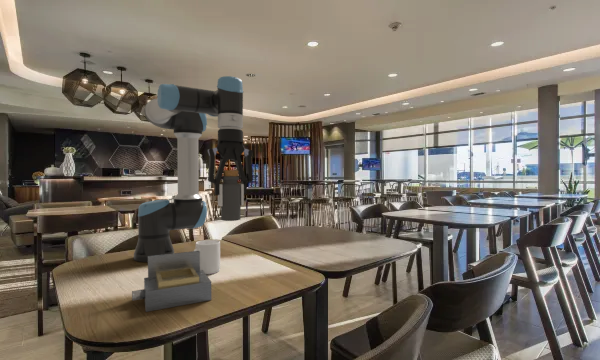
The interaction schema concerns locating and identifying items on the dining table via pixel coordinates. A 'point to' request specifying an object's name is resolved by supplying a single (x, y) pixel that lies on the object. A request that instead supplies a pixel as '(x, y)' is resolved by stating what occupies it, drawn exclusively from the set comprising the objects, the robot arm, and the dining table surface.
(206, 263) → the mug
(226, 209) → the bottle
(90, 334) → the dining table surface
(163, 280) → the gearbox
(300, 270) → the dining table surface
